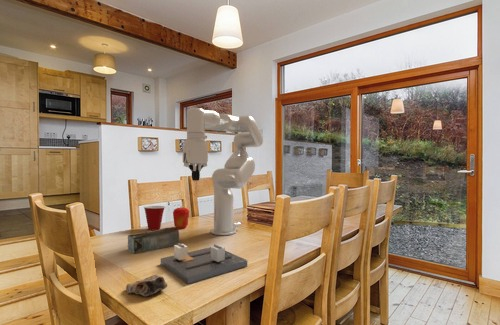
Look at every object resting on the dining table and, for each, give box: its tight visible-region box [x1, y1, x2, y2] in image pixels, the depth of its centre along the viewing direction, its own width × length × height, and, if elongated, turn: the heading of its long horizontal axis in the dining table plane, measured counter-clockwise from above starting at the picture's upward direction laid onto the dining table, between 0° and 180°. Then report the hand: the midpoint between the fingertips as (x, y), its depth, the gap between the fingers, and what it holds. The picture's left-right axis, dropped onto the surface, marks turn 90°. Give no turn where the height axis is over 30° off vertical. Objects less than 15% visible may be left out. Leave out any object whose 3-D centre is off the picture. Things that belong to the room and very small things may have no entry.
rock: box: [125, 274, 168, 297], centre depth 76 cm, size 9×6×10 cm
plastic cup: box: [143, 205, 166, 231], centre depth 145 cm, size 11×11×12 cm
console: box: [160, 246, 248, 285], centre depth 95 cm, size 22×20×2 cm
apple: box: [172, 206, 190, 230], centre depth 148 cm, size 9×8×12 cm
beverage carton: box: [127, 227, 180, 255], centre depth 115 cm, size 8×19×7 cm, turn 131°
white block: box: [210, 244, 226, 262], centre depth 94 cm, size 3×4×4 cm
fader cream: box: [173, 242, 189, 260], centre depth 95 cm, size 3×4×4 cm
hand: (195, 180), depth 120 cm, fingers closed
